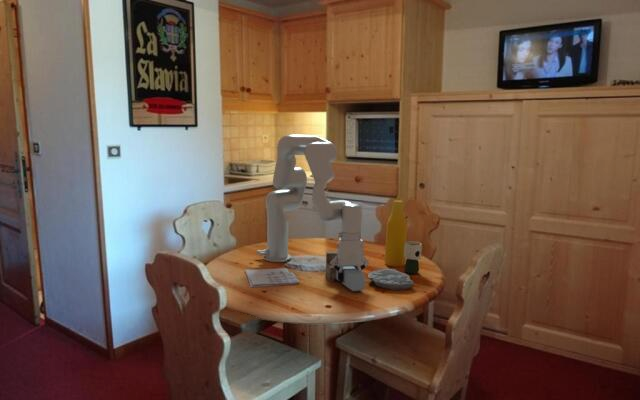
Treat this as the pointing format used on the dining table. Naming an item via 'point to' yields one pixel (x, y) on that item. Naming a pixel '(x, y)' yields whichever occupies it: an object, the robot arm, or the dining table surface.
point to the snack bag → (270, 277)
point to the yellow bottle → (396, 236)
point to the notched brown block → (330, 266)
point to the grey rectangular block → (352, 278)
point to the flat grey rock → (390, 279)
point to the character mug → (412, 256)
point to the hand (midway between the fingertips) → (348, 281)
